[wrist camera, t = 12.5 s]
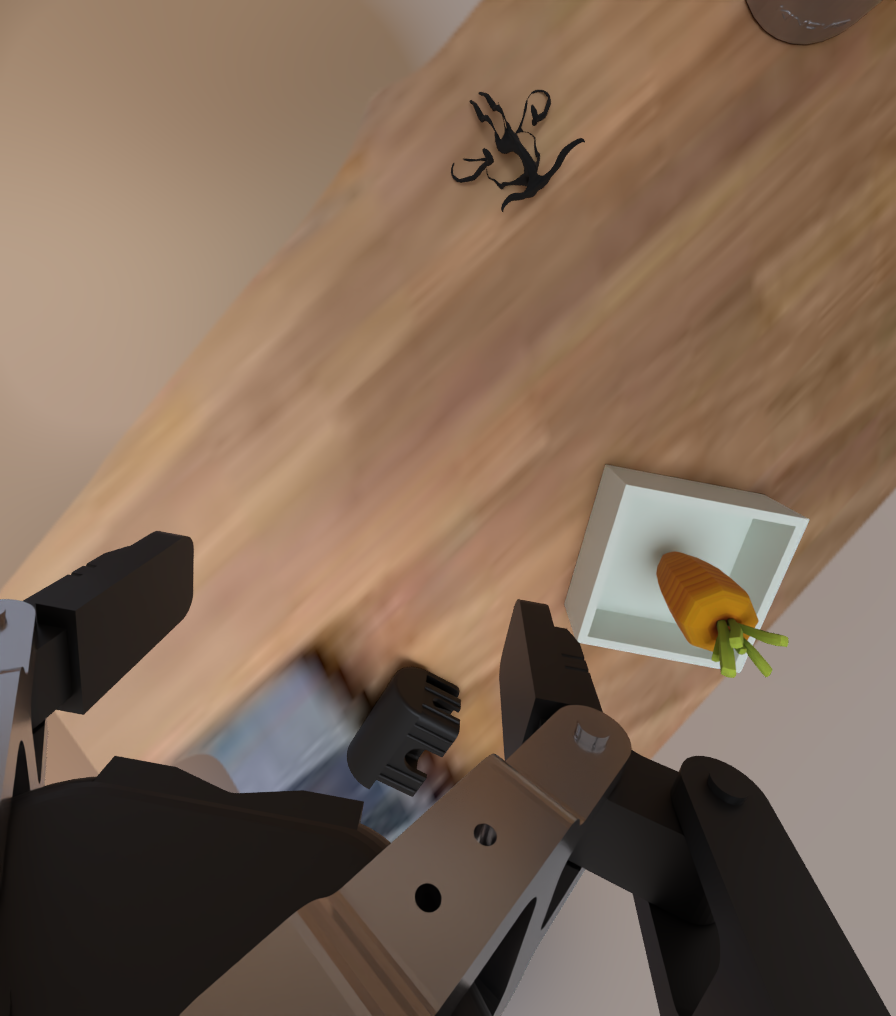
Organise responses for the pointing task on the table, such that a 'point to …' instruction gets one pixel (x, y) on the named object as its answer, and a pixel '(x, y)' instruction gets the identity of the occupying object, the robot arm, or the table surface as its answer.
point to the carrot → (712, 611)
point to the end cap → (405, 730)
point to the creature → (513, 144)
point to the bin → (666, 528)
